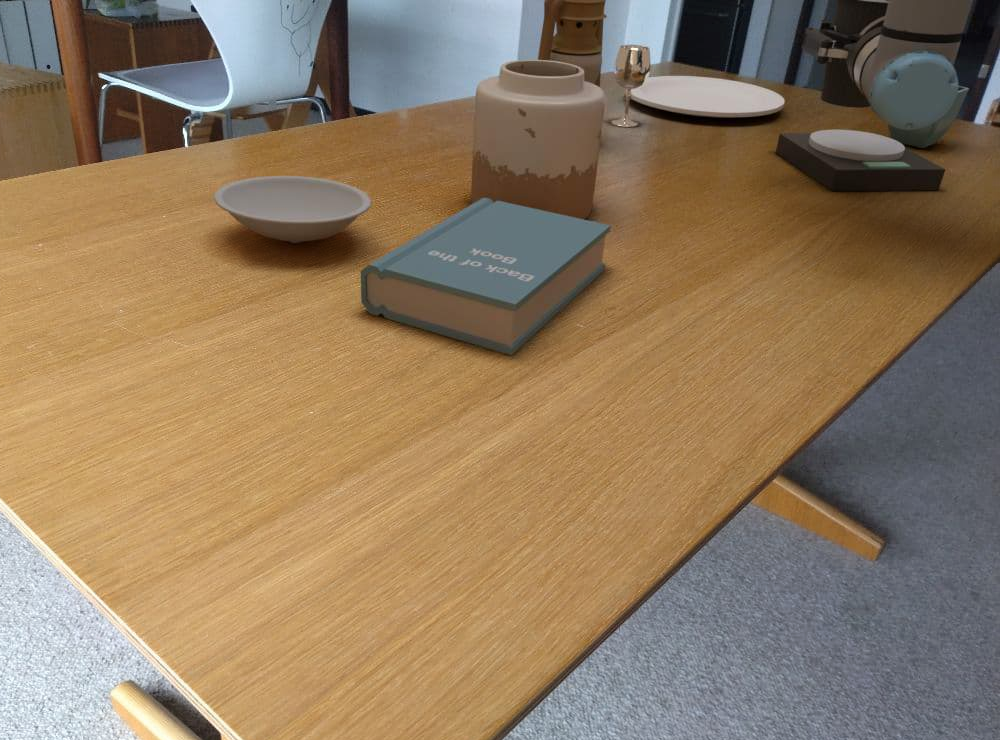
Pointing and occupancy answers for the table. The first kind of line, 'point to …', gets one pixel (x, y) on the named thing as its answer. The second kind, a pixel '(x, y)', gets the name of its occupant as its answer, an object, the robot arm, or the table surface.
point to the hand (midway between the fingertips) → (855, 32)
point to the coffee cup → (854, 16)
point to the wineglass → (631, 74)
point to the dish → (292, 206)
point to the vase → (538, 137)
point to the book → (487, 273)
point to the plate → (707, 97)
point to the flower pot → (930, 126)
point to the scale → (858, 161)
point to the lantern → (574, 35)
